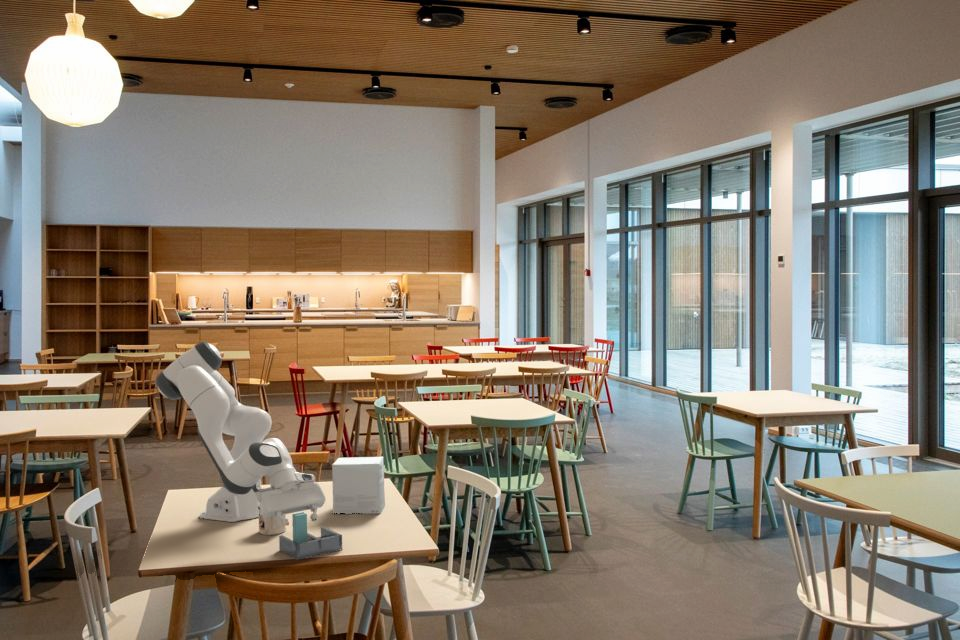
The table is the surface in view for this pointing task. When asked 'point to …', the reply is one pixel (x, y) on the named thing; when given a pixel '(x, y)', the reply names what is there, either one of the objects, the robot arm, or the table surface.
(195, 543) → the table surface
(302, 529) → the teal rectangular block
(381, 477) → the supplement box
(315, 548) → the rack
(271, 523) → the teacup with lid
